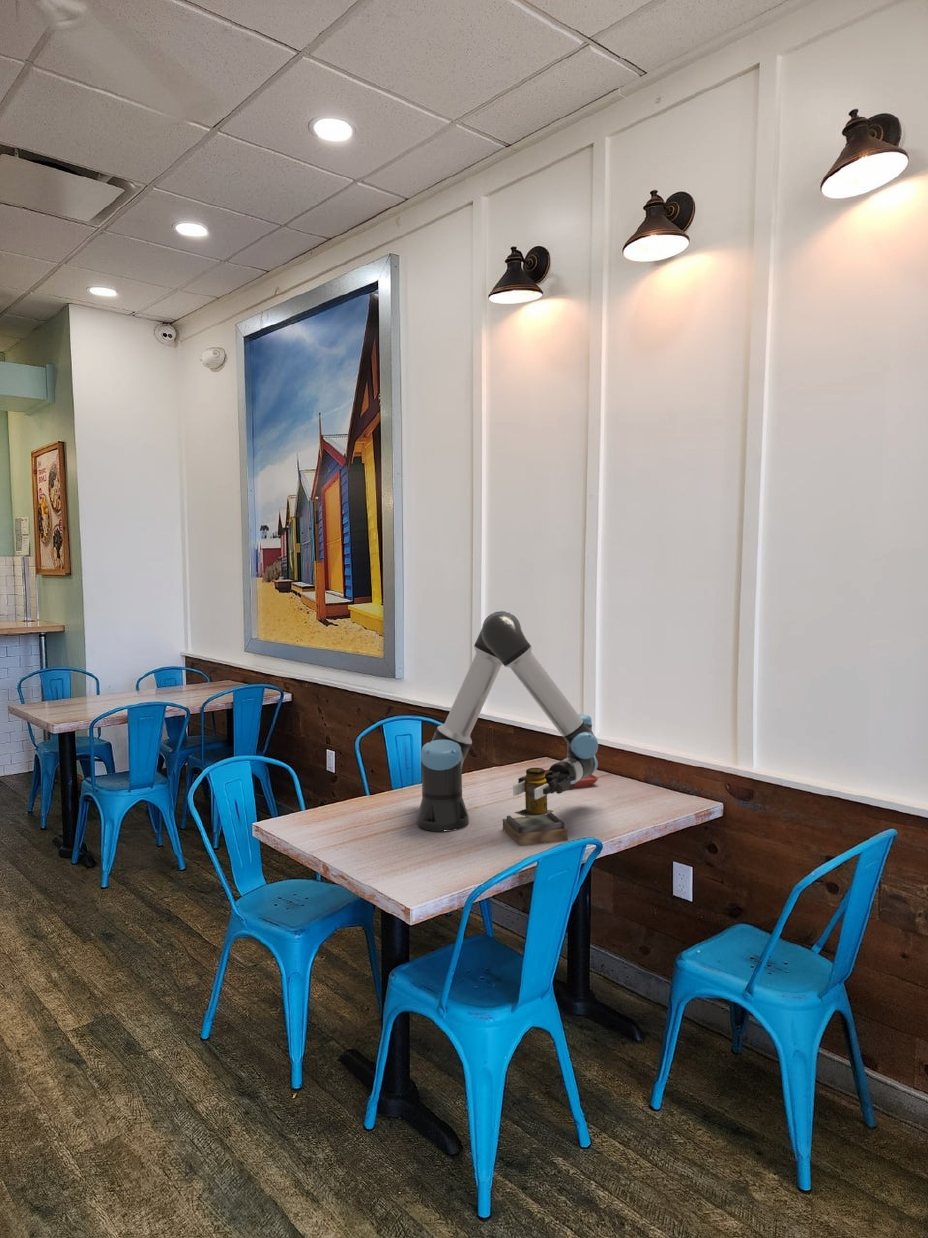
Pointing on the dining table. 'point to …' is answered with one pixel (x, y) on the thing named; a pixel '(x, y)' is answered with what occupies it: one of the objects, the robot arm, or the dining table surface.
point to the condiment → (534, 806)
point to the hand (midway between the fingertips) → (525, 792)
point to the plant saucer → (585, 781)
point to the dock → (535, 829)
